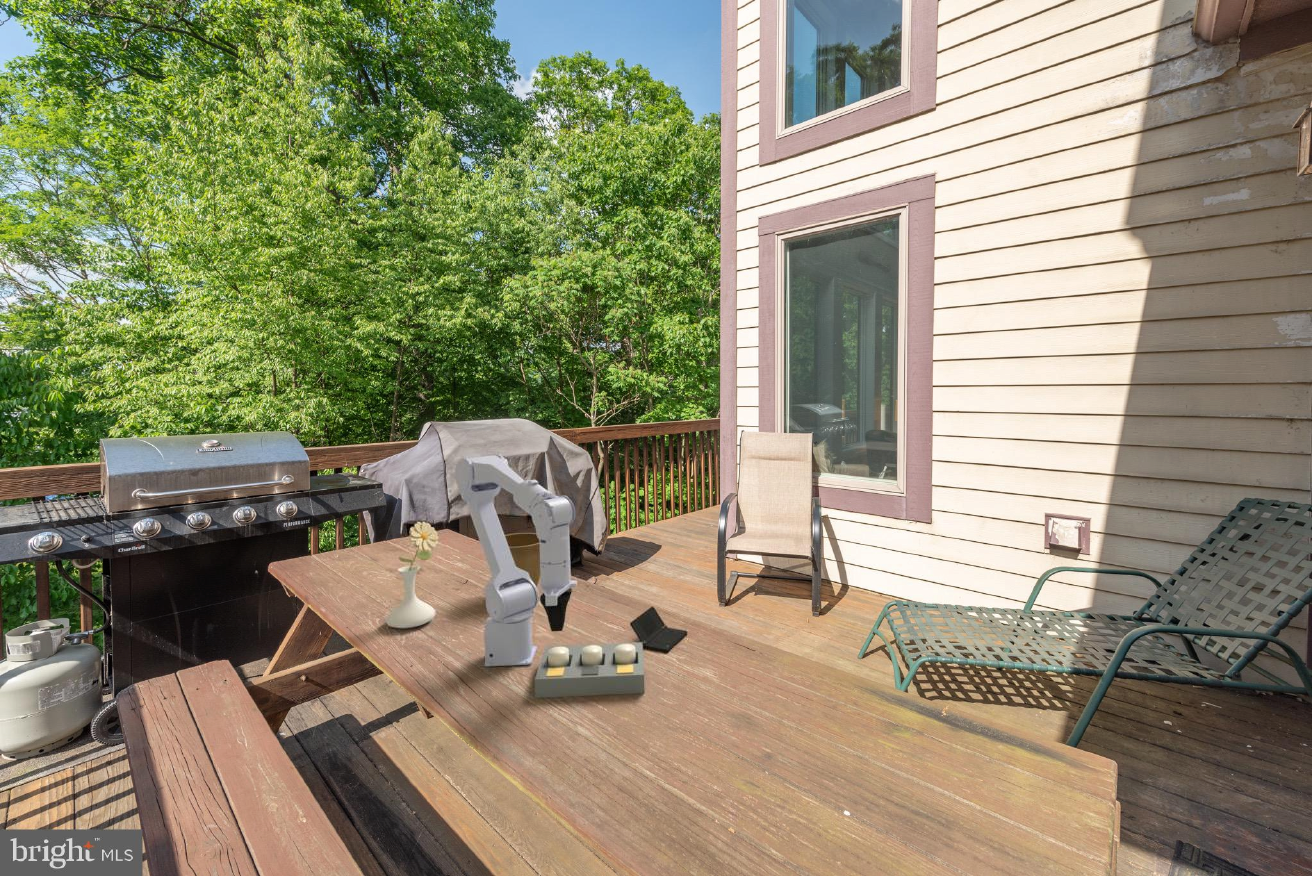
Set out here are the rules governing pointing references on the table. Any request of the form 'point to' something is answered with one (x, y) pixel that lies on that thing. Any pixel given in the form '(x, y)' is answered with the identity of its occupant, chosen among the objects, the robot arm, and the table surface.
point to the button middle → (591, 655)
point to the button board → (590, 674)
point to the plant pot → (526, 553)
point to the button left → (558, 657)
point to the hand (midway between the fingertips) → (557, 629)
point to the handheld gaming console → (656, 632)
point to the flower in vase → (411, 607)
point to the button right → (625, 654)
